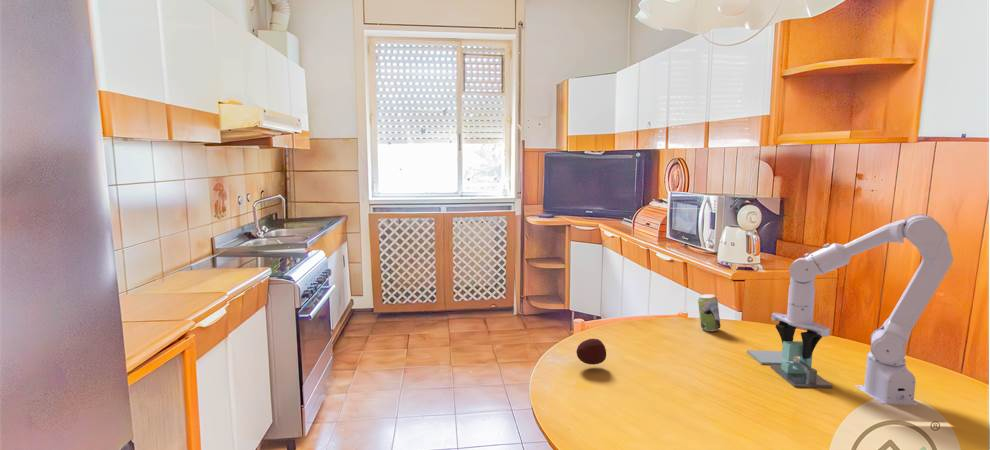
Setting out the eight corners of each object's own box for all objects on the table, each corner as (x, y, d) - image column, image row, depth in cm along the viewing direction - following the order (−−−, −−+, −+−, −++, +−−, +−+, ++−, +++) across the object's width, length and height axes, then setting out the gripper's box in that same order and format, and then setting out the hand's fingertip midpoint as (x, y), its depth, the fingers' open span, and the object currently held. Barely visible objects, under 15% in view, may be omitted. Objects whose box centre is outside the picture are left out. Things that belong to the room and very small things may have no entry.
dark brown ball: (571, 360, 137) (572, 336, 136) (598, 357, 139) (599, 333, 138) (582, 370, 130) (583, 345, 129) (611, 367, 132) (612, 342, 131)
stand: (832, 388, 119) (833, 371, 119) (794, 386, 120) (795, 370, 120) (804, 368, 131) (805, 353, 131) (770, 367, 132) (771, 352, 131)
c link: (810, 373, 126) (813, 345, 125) (787, 373, 126) (789, 345, 125) (803, 368, 129) (805, 341, 128) (781, 368, 129) (783, 341, 128)
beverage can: (723, 333, 160) (725, 297, 158) (701, 332, 160) (702, 297, 159) (715, 326, 166) (717, 292, 165) (693, 326, 166) (695, 292, 165)
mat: (806, 365, 133) (806, 363, 133) (761, 364, 134) (761, 362, 134) (789, 353, 142) (789, 351, 142) (746, 352, 143) (746, 350, 143)
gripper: (839, 309, 120) (835, 362, 122) (785, 295, 134) (782, 343, 135) (820, 313, 118) (816, 366, 119) (767, 298, 131) (764, 346, 132)
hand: (796, 354), depth 127 cm, fingers closed on c link, 5 cm apart
